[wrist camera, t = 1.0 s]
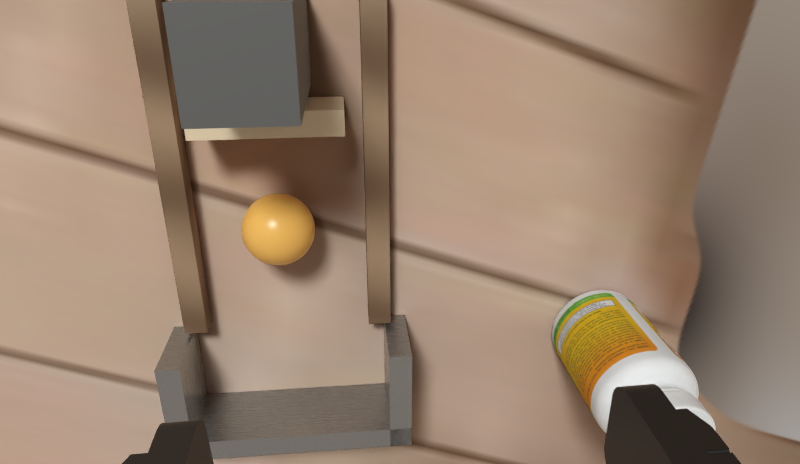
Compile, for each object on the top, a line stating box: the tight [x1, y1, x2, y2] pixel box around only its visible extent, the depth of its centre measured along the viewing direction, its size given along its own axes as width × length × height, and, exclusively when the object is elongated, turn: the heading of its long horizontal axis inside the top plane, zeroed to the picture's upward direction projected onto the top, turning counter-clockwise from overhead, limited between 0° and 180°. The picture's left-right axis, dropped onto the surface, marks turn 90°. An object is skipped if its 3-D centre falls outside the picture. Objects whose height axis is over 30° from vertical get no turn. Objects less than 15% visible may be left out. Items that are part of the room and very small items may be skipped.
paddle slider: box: [162, 0, 345, 141], centre depth 24 cm, size 6×7×9 cm
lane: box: [126, 0, 391, 334], centre depth 30 cm, size 17×11×1 cm, turn 0°
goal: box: [154, 315, 412, 459], centre depth 34 cm, size 6×13×4 cm, turn 90°
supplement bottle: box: [552, 290, 716, 433], centre depth 32 cm, size 5×5×10 cm
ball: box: [241, 193, 315, 266], centre depth 30 cm, size 4×4×4 cm
